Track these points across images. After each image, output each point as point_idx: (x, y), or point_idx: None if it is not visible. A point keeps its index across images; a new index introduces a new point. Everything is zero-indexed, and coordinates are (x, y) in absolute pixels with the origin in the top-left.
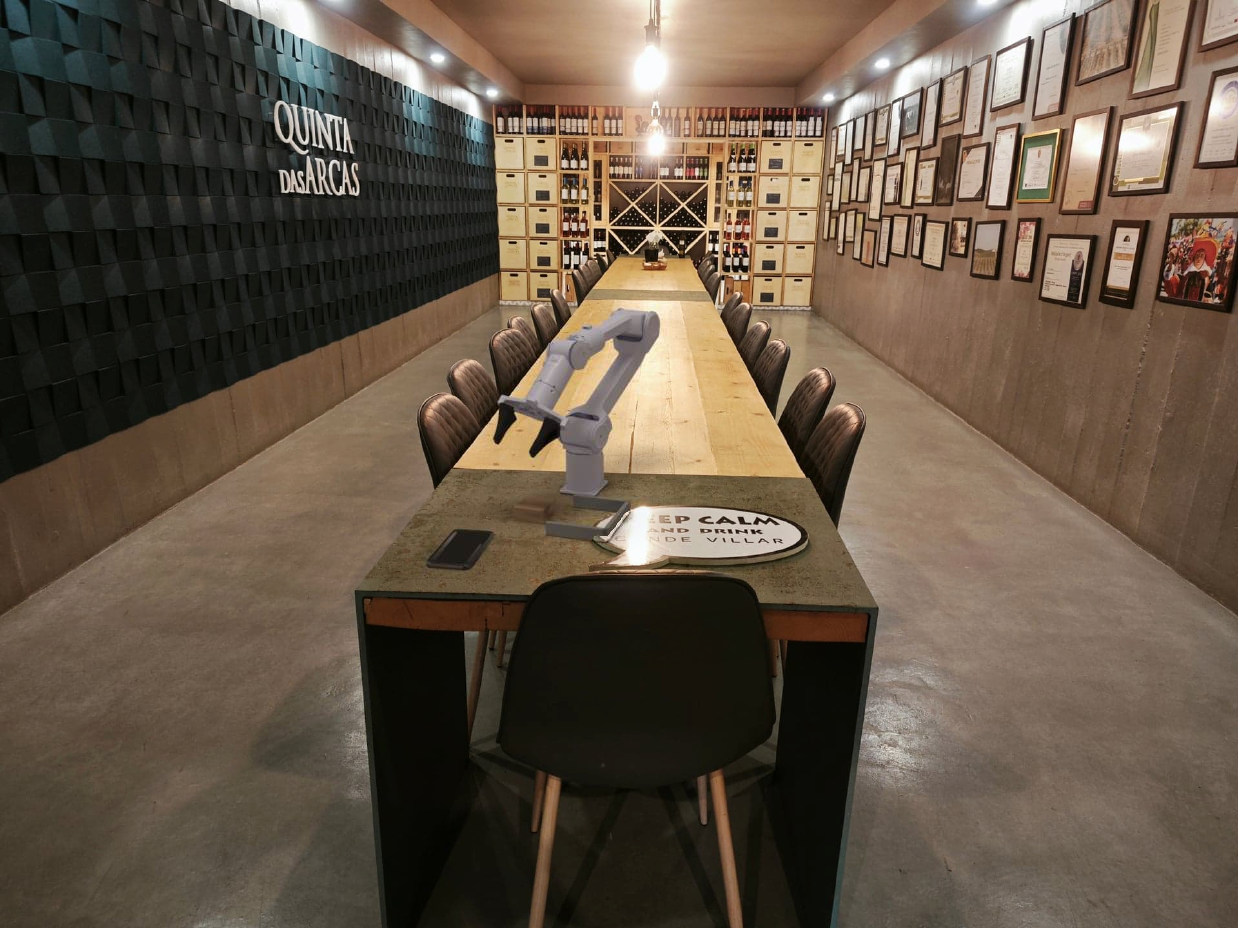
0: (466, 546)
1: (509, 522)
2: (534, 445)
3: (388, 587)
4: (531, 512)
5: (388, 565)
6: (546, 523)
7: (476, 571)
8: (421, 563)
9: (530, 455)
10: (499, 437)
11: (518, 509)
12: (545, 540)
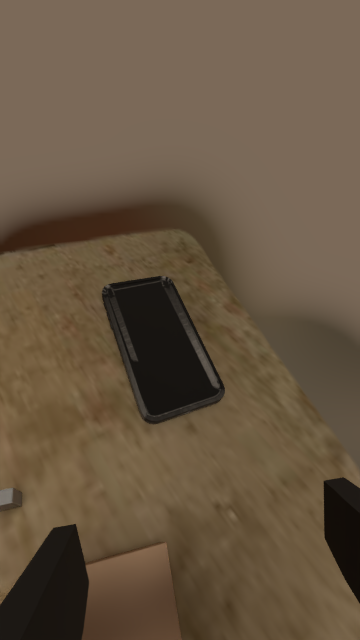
0: (153, 343)
1: (160, 518)
2: (31, 571)
3: (167, 232)
4: (101, 560)
5: (214, 269)
6: (10, 488)
7: (87, 290)
8: (180, 286)
9: (82, 563)
10: (344, 534)
11: (147, 547)
12: (10, 459)
